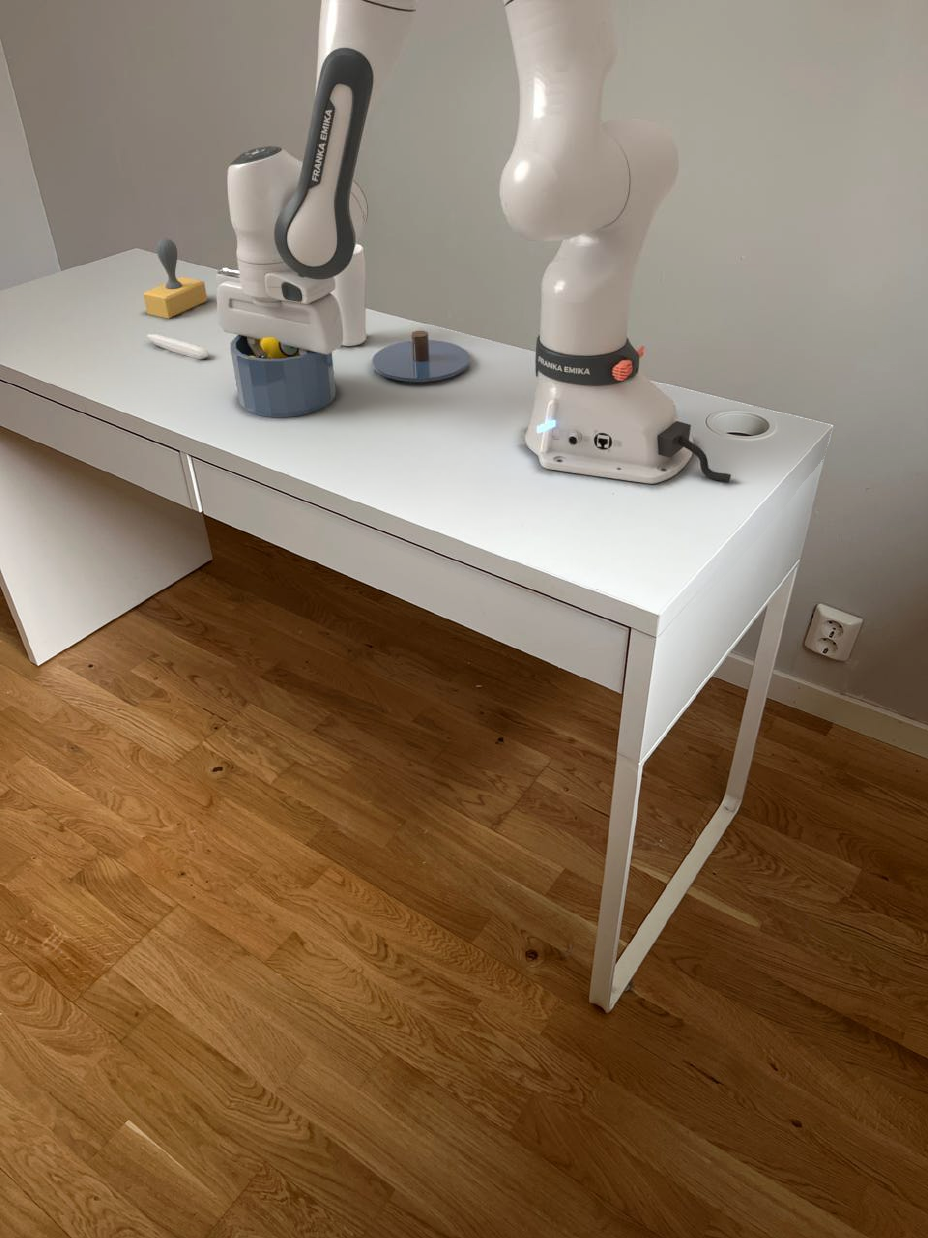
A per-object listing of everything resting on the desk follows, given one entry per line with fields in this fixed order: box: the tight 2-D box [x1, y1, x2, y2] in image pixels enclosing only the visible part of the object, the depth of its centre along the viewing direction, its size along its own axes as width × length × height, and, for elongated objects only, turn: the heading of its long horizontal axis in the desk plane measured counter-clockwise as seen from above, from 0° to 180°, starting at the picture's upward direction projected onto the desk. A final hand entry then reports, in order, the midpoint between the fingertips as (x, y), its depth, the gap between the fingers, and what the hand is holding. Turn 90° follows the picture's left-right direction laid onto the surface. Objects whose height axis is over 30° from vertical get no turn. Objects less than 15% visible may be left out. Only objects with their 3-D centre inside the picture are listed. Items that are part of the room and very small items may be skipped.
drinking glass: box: [330, 243, 367, 347], centre depth 163 cm, size 7×7×15 cm
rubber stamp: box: [143, 237, 208, 320], centre depth 178 cm, size 10×6×12 cm, turn 150°
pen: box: [146, 333, 209, 360], centre depth 165 cm, size 2×14×2 cm, turn 56°
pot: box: [229, 334, 337, 418], centre depth 148 cm, size 14×14×8 cm
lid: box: [371, 330, 471, 383], centre depth 157 cm, size 15×15×5 cm
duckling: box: [250, 337, 300, 359], centre depth 147 cm, size 11×5×10 cm, turn 113°
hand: (284, 370), depth 148 cm, fingers closed on duckling, 6 cm apart
